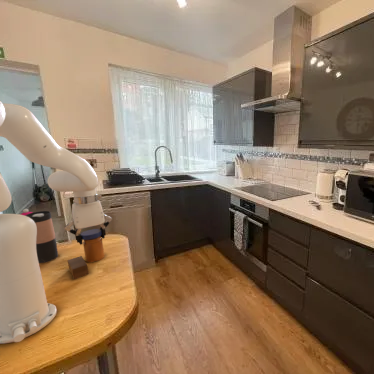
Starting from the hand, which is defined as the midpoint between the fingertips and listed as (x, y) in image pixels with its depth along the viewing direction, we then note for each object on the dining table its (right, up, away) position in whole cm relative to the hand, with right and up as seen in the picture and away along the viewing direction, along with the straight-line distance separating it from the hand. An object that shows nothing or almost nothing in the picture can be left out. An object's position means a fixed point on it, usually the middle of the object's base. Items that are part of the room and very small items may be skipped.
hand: (92, 240), depth 90 cm
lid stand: (0, -10, -7) cm, 13 cm away
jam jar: (0, -8, +2) cm, 8 cm away
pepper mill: (-31, -7, +7) cm, 32 cm away
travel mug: (-20, -8, +1) cm, 22 cm away
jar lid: (0, +3, -1) cm, 3 cm away
